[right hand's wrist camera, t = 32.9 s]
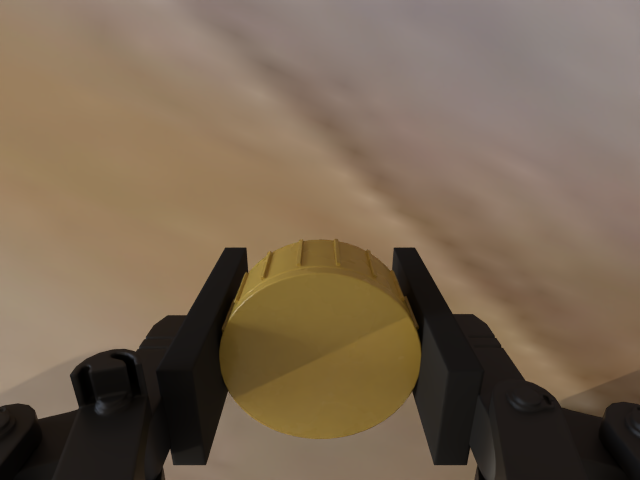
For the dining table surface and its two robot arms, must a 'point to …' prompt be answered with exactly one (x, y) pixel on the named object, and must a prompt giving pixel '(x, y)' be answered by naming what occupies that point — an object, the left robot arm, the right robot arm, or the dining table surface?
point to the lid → (320, 341)
